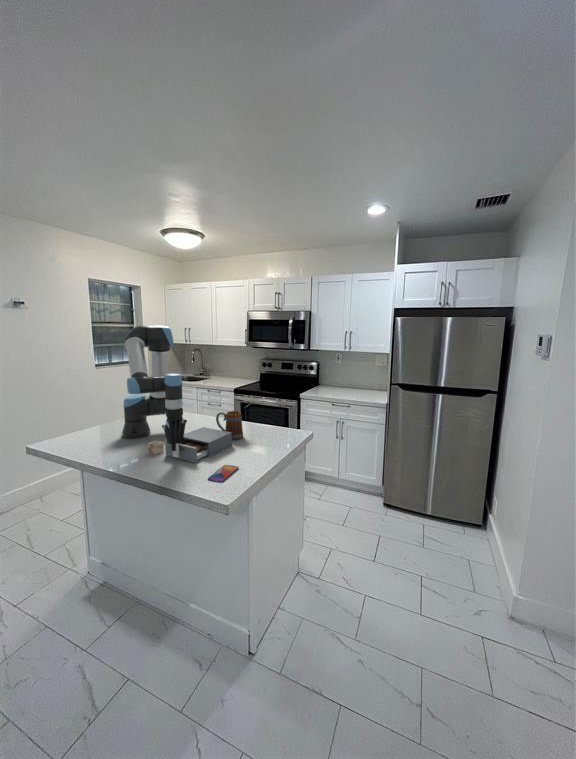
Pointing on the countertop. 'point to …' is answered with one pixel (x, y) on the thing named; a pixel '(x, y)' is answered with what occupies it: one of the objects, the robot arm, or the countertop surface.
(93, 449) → the countertop surface
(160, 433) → the countertop surface
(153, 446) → the block
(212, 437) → the grey drawer box
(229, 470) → the smartphone
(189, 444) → the tan flat lump
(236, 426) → the mug
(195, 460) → the gray drawer
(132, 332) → the robot arm
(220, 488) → the countertop surface
